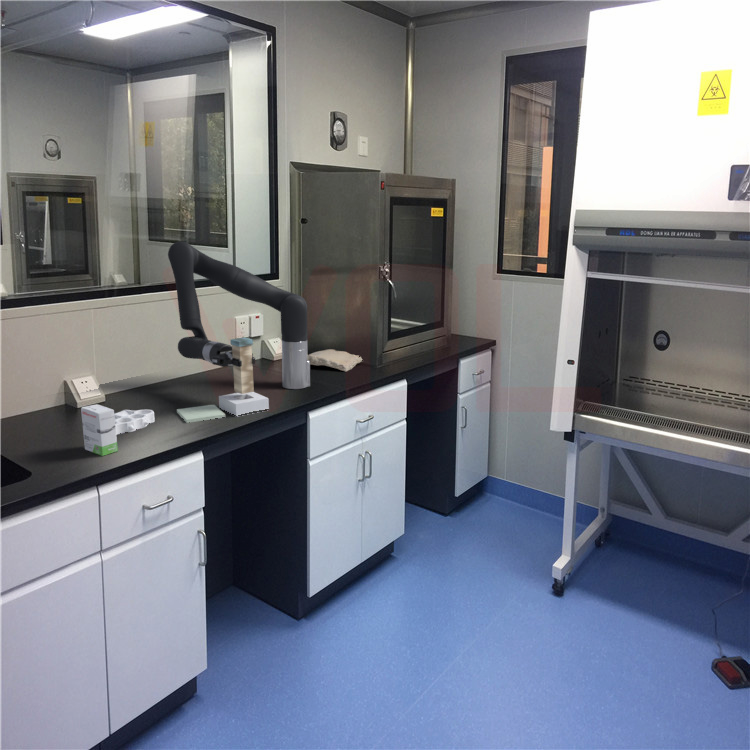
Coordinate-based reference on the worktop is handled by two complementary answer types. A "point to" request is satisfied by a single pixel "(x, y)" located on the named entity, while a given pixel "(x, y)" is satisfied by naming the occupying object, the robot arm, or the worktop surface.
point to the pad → (200, 413)
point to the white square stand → (243, 403)
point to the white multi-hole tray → (132, 420)
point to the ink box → (99, 429)
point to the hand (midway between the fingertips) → (247, 362)
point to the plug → (243, 365)
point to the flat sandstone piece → (334, 359)
